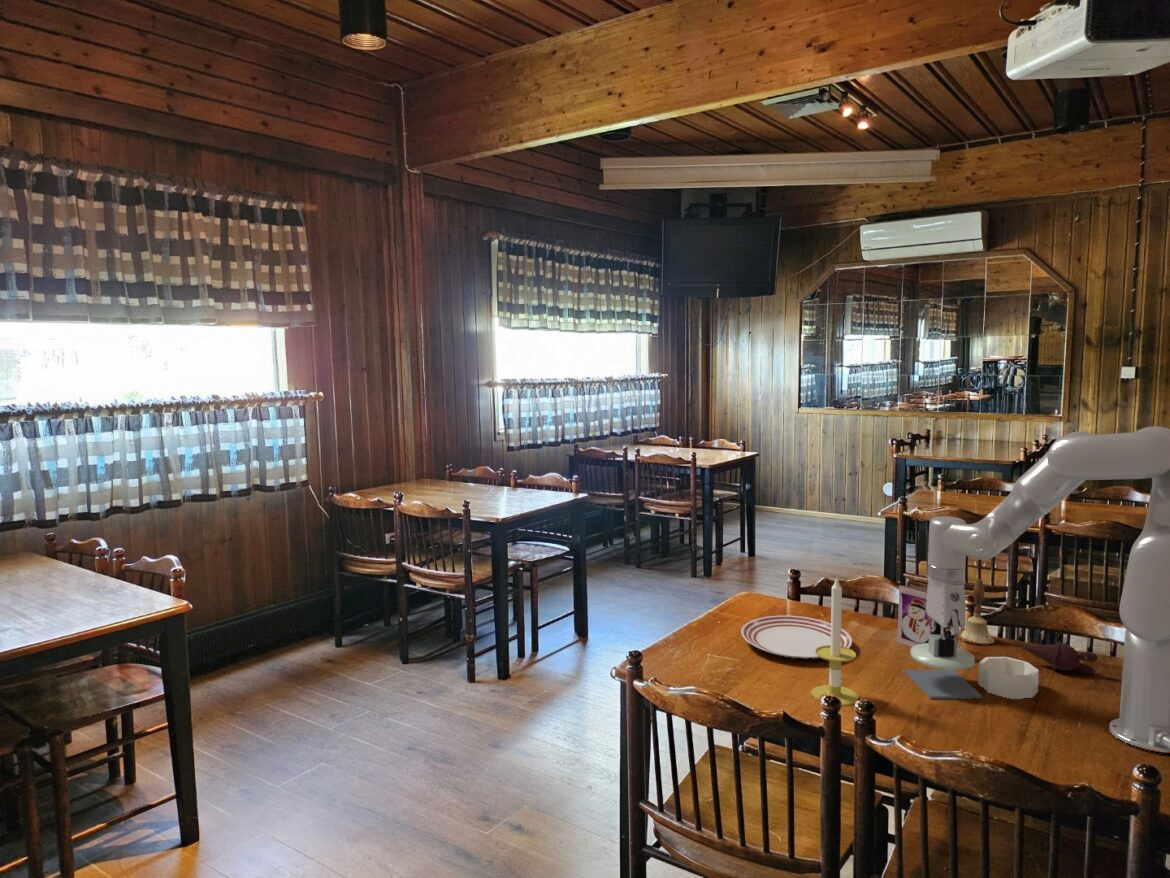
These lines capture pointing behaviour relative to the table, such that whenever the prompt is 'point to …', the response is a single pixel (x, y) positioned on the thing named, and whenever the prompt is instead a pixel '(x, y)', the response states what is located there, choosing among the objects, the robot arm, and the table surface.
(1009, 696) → the bowl
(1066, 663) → the icecream
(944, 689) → the mat
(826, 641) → the dinner plate
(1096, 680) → the table surface
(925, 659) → the lid
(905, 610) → the greeting card
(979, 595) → the hand bell
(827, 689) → the candle
